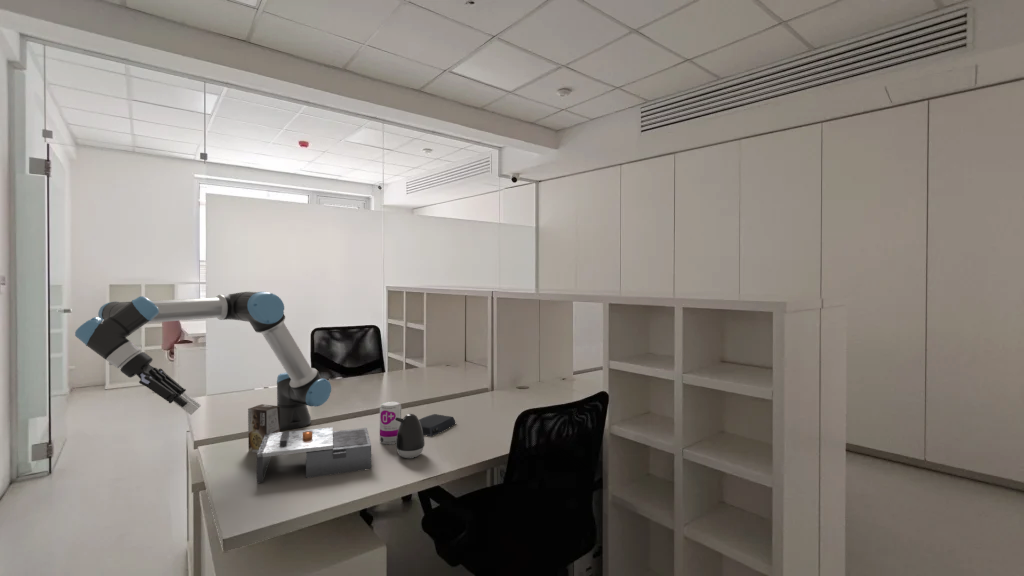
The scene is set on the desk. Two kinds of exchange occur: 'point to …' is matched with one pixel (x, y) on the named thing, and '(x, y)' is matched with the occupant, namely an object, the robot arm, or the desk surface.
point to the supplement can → (389, 421)
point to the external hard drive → (436, 424)
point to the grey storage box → (341, 454)
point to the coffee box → (262, 424)
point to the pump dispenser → (409, 437)
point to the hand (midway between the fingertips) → (196, 410)
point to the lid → (291, 445)
